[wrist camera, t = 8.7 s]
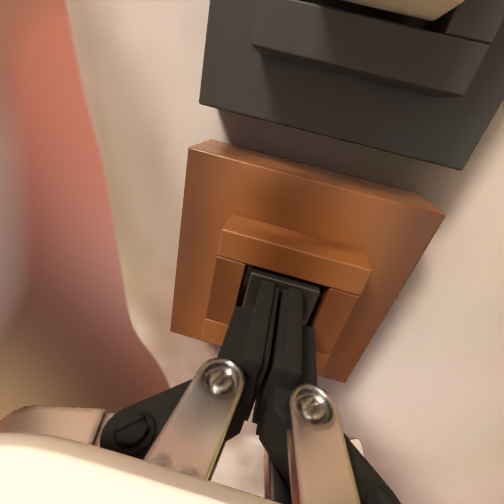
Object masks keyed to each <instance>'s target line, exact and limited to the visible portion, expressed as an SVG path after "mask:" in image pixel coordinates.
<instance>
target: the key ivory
mask: <svg viewBox="0 0 504 504" xmlns="http://www.w3.org/2000/svg"><path fill="white" fill-rule="evenodd" d="M342 1H347V2H351V3H355V4H360V5H364V6H368V7H373V8H377V9H381V10H386V11H390V12H394V13H398V14H403V15H407V16H411V17H416V18H420V19H424V20H429V21H434V20H436V19H438V18H439V17H441V16H442V15H444V14H445V13H447V12H448V11H450V10H451V9H453V8H454V7H456V6H458V5H459V4H461V3H462V2H464V0H342Z"/></svg>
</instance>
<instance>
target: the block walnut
mask: <svg viewBox="0 0 504 504" xmlns="http://www.w3.org/2000/svg"><path fill="white" fill-rule="evenodd" d="M444 218H445V214H443V213H442V212H441V211H440V210H439V209H437V208H436V207H435V206H434V205H432V204H431V203H430V202H429V201H427V200H426V199H425V198H424V197H422V196H421V195H420V194H417V193H414V192H410V191H406V190H402V189H398V188H394V187H391V186H387V185H383V184H379V183H375V182H372V181H368V180H364V179H360V178H356V177H352V176H349V175H345V174H341V173H337V172H333V171H330V170H326V169H322V168H318V167H314V166H310V165H307V164H303V163H299V162H295V161H291V160H288V159H284V158H280V157H276V156H272V155H268V154H265V153H261V152H257V151H253V150H249V149H245V148H242V147H238V146H234V145H230V144H226V143H223V142H219V141H215V140H208V141H205V142H202V143H200V144H197V145H194V146H192V147H189V149H188V159H187V169H186V179H185V189H184V199H183V209H182V219H181V229H180V239H179V249H178V259H177V269H176V278H175V288H174V298H173V308H172V318H171V328H170V331H171V332H175V333H178V334H182V335H185V336H188V337H192V338H195V339H198V340H202V341H205V342H208V343H212V344H215V345H219V346H222V343H223V340H224V337H225V334H226V332H227V329H228V326H229V323H230V320H231V317H232V314H233V312H234V309H235V306H239V307H242V304H243V300H244V296H245V292H246V288H247V284H248V280H249V276H250V273H251V270H252V267H253V266H256V267H260V268H263V269H267V270H270V271H274V272H278V273H281V274H285V275H288V276H292V277H295V278H299V279H302V280H306V281H309V282H313V283H317V284H320V295H319V297H318V299H317V302H316V304H315V306H314V309H313V311H312V313H311V316H310V318H309V320H308V323H307V325H306V326H309V327H312V328H314V329H315V345H316V370H317V375H319V376H323V377H326V378H330V379H333V380H336V381H340V382H343V383H345V382H346V381H347V379H348V377H349V376H350V374H351V372H352V371H353V369H354V367H355V366H356V364H357V362H358V361H359V359H360V357H361V356H362V354H363V352H364V351H365V349H366V347H367V346H368V344H369V342H370V341H371V339H372V337H373V336H374V334H375V332H376V331H377V329H378V327H379V326H380V324H381V322H382V321H383V319H384V317H385V316H386V314H387V312H388V311H389V309H390V307H391V306H392V304H393V302H394V301H395V299H396V297H397V296H398V294H399V293H400V291H401V289H402V288H403V286H404V284H405V283H406V281H407V279H408V278H409V276H410V274H411V273H412V271H413V269H414V268H415V266H416V264H417V263H418V261H419V259H420V258H421V256H422V254H423V253H424V251H425V249H426V248H427V246H428V244H429V243H430V241H431V239H432V238H433V236H434V234H435V233H436V231H437V229H438V228H439V226H440V224H441V223H442V221H443V219H444Z"/></svg>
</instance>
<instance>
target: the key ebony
mask: <svg viewBox="0 0 504 504" xmlns="http://www.w3.org/2000/svg"><path fill="white" fill-rule="evenodd" d="M262 280H265V281H269V282H273V283H275V287H277V288H279V296H278V303H279V300H280V297H281V294H282V291H283V289H284V290H288V289H289V287H290V288H294V289H297V290H301V291H303V312H302V325H305V326H306V325H307V323H308V320H309V318H310V316H311V313H312V311H313V309H314V306H315V304H316V302H317V299H318V297H319V295H320V284H317V283H313V282H309V281H306V280H302V279H299V278H295V277H292V276H288V275H285V274H281V273H278V272H274V271H270V270H267V269H263V268H260V267H256V266H253V267H252V270H251V273H250V276H249V280H248V284H247V288H246V292H245V296H244V300H243V304H242V308H246V309H249V310H253V311H254V307H255V304H256V300H257V297H258V293H259V290H260V287H261V283H262ZM278 303H277V306H278Z"/></svg>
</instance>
